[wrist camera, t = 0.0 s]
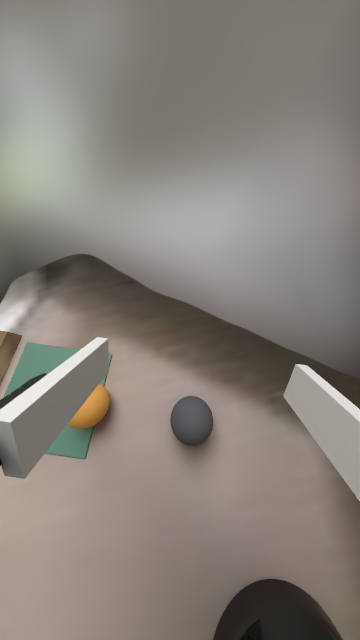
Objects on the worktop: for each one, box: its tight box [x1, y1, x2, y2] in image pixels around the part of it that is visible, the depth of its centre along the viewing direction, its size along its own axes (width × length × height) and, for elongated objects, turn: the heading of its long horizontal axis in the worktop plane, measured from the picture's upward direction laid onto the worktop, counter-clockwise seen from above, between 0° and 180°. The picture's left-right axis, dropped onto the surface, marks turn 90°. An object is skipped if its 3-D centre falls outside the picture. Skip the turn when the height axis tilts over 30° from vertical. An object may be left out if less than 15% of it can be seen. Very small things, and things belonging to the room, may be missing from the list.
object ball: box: [68, 384, 110, 429], centre depth 22 cm, size 6×6×6 cm
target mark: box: [4, 342, 112, 459], centre depth 25 cm, size 14×14×1 cm
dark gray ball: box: [171, 396, 213, 445], centre depth 22 cm, size 6×6×6 cm
